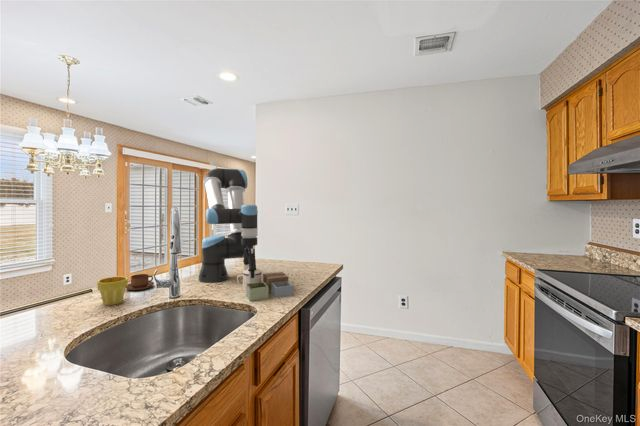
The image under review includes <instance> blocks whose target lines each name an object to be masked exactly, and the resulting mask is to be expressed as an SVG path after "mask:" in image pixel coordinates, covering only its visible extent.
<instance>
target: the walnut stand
mask: <svg viewBox="0 0 640 426" xmlns="http://www.w3.org/2000/svg"><path fill="white" fill-rule="evenodd" d="M285 281H288V282H290V281H289V276H288V275H287V273H284V272H283V271H280V272H279V271H278V272H269V273H262V282H265V283H266V285H267V286H268V293H271V283H275V282H285Z"/></svg>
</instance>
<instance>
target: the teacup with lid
mask: <svg viewBox="0 0 640 426" xmlns="http://www.w3.org/2000/svg"><path fill="white" fill-rule="evenodd" d="M262 274H263V273H262V270H261V269H258V268H256V270H255V283H260V282H262ZM240 277H242V282H241V281H240ZM236 280H237V284H239V285H240V286H242V290H243V291H244V292H247V284H249V271H248V269H247V270H245V271H244V270H243V271H242V274H239V275H237V277H236Z"/></svg>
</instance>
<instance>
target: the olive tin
mask: <svg viewBox="0 0 640 426" xmlns="http://www.w3.org/2000/svg"><path fill="white" fill-rule="evenodd" d="M245 292H246V298H247V299H248V301H249V302H250V303H251V302H257V301H266V300H267V301H268V300H269V292H268V286H267V285H266V283H265V282H263V281H261V282H260V283H250V284H247V291H245Z"/></svg>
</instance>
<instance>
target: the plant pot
mask: <svg viewBox="0 0 640 426" xmlns="http://www.w3.org/2000/svg"><path fill="white" fill-rule="evenodd" d="M128 279H129V278H128V277H127V276H121V275H120V276H119V275H118V276H109V277H104V278H101V279H98V281H97V285H96V286H97V290H98V291H99V293H100V297H101V300H102V305H105V306H114V305H118V304H120V303H121V304H122V303H123V299H124V297H125V292H126V287H127V285H128V284H129V283H128V282H129V280H128Z"/></svg>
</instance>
